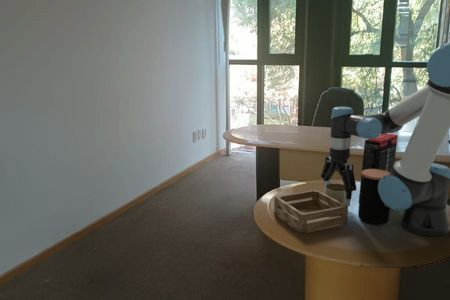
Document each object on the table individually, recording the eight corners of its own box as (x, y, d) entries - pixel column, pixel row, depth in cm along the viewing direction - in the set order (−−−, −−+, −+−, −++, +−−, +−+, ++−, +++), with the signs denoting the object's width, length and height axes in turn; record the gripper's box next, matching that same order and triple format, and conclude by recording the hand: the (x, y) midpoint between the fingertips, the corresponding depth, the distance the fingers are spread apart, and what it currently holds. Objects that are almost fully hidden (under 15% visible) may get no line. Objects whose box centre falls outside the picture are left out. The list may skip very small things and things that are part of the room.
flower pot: (322, 210, 154) (324, 189, 152) (325, 202, 163) (326, 182, 161) (348, 213, 151) (349, 192, 149) (348, 204, 160) (350, 184, 158)
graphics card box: (376, 193, 171) (381, 132, 165) (392, 197, 167) (398, 134, 160) (357, 204, 160) (362, 139, 153) (374, 209, 155) (380, 141, 148)
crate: (346, 224, 142) (348, 206, 140) (301, 234, 135) (302, 215, 133) (315, 206, 159) (316, 189, 157) (274, 213, 152) (274, 196, 150)
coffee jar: (387, 228, 139) (392, 179, 134) (356, 223, 143) (359, 175, 138) (389, 216, 148) (394, 170, 144) (359, 212, 152) (363, 167, 148)
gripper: (369, 153, 142) (365, 210, 147) (328, 140, 163) (326, 190, 168) (352, 156, 139) (348, 213, 144) (313, 142, 160) (311, 192, 166)
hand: (336, 201), depth 156 cm, fingers open, 11 cm apart
